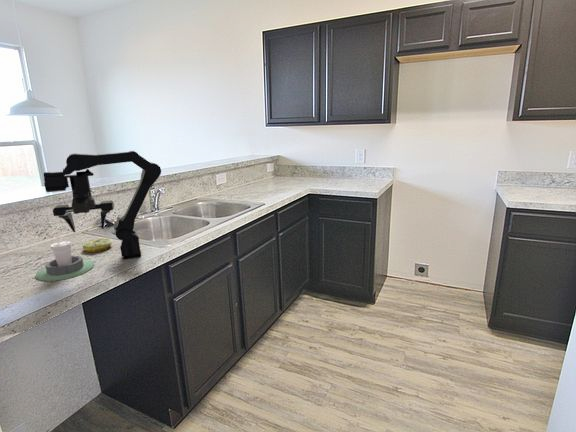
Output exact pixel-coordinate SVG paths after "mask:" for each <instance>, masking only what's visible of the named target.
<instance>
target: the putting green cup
mask: <svg viewBox="0 0 576 432" xmlns="http://www.w3.org/2000/svg"><path fill="white" fill-rule="evenodd" d="M71 258H72V264H68V265H65V266H58V264H57V261H56V259H55V258H54V259H52V260H50V261H47V262H46V263H45V267H43V268H41V269H40V270H39V271H37V272H36V274H35V279H36V280H37V281H42V282H54V281H62V280H68V279H71V278H74V277H75V278H76V277H78V276H81V275H83V274H85V273H87V272H90V271H91V270H92V269H93V268H94V266H95V262H94V261H92V260H90V259H84V258H83V257H82V256H80V255H71Z"/></svg>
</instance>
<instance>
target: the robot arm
mask: <svg viewBox="0 0 576 432" xmlns="http://www.w3.org/2000/svg"><path fill="white" fill-rule="evenodd" d="M65 162H66V166H64V167H65V168H62V171H55V172H54V171H53V172H49V171H47V172H46V171H45V172H43V179H44V183H43V184H44V189H45V191H46V193H56V192H65V191H67V189H68V188H70V186H71V192H72V202H71V206H69V204H59V205H56V206H55V207H54V208H53V209H52V215H53V216H54V217H58V218H59V219H63V220H64V221H65V222H66V223H67V224H68V226H69V228H70V229H71V230H72V232H73V233H76V226H75V222H74V218H73V215H72V212H73V214H75V215H78V214H83V213H84V214H87V213H89V212H90V211H91V210H92V211H93V210H101V211H100V212H99V213H100V220H101V221H100V223H101V224H100V225H101V229H102V230H104V229H105V228H104V227H105V223H106V217H107V214H109V213H111V211H113V210H114V208H115V203H114V201H113V200H111V199H110V200H101V201H100V203H96V201H95V198H94V197H92V196H93V195H92V190H91V185H90V178H89V177H93V176H94V175H95V174H94V173H93V172H92V171H91V170H90V168H94V167H97V166H103V165H104V166H105V165H111V164H112V165H113V164H120V163H121V164H122V163H123V164H124V163H133V164H135V165H136V166H138V167H139V168H140V169H141V170H142V171H141V174H140V181H139V184H138V186H137V187H136V189H135V192H134V194H133V196H132V198H131V200H130V202H129V204H128V207H127V209H126V211H125V213H124V214H123V216H122V217H119V216H117V217H116V222H115V223H114V224H113V230H114V231H113V232H114V235H115V237H116V238H117V239H118V240H120V241H121V243H120V253H121V257H122V259H123V260H127V259H128V260H129V259H134V258H139V257H140V258H141V257H142V250H141V244H140V237H139V235H138V234H137V232H136V231H135V230H134V227H135V222H136V219H137V216H138V214H139V212H140V210H141V207H142V206H143V203H144V201H145V200H146V197H147V195H148V194H149V193H148V192H149V190H150V189H151V187H152V186H153V185H154V184H155V183H156V182H157V180H158V179H159V177H160V176H161V174H162V169H161V166H160V165H159V164H157V163H154V162H150V161H148V160H147V159H146V158H144V157H143V156H141V155H140V154H139V153H138V152H137V151H135V150H129V151H124V152H123V151H122V152H112V153H110V152H109V153H101V154H89V153H77V152H75V153H70V154H69V155H68V156H67V158H66V161H65ZM84 170H85V171H84ZM75 171H76V174H73V173H74V172H75ZM68 179H69V180H68ZM69 183H70V186H69Z"/></svg>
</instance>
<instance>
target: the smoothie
mask: <svg viewBox="0 0 576 432" xmlns="http://www.w3.org/2000/svg"><path fill="white" fill-rule="evenodd" d="M55 236H56V241H57V242H55V243H54V242H53V243H51V245H50V250H52V253H53V256H54V259H56V261H57V264H58V266H65V265H68V264H72V258H71V256H72V246H73V244H72V241H69V240H68V241H67V240H63V241H60V238H59V233H58V232H55Z"/></svg>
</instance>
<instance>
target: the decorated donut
mask: <svg viewBox="0 0 576 432" xmlns="http://www.w3.org/2000/svg"><path fill="white" fill-rule="evenodd" d="M112 245H113V242H112V240H111V239H110V238H105V237H100V238H99V237H98V238H94V239H90V240H87V241H85V242H84V243H82V249H83V251H85V252H87V253H97V252H102V251H106V250H108V248H110V247H111V246H112Z"/></svg>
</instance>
